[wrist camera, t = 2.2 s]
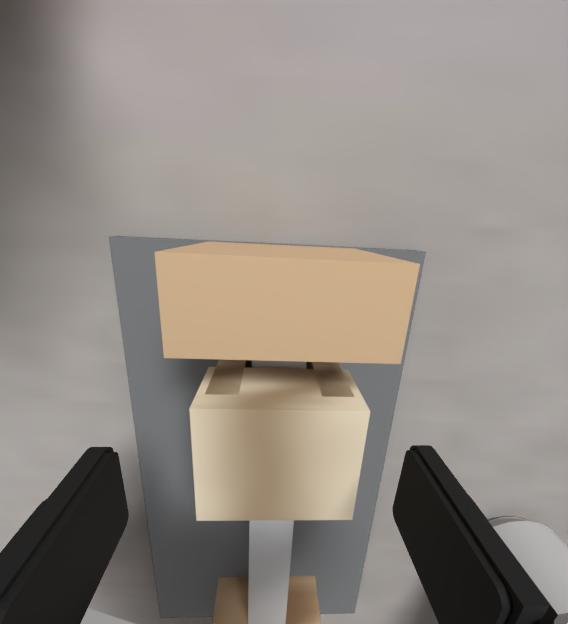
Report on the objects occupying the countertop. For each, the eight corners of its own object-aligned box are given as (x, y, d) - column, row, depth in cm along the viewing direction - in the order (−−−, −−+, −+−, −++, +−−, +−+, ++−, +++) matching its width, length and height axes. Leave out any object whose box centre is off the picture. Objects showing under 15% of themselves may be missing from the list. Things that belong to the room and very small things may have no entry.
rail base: (415, 250, 14) (542, 269, 7) (350, 596, 22) (384, 754, 16) (120, 236, 13) (-32, 243, 7) (165, 600, 22) (117, 767, 15)
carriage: (335, 346, 14) (370, 411, 9) (326, 426, 16) (352, 519, 11) (219, 343, 14) (189, 408, 9) (221, 425, 15) (196, 520, 10)
